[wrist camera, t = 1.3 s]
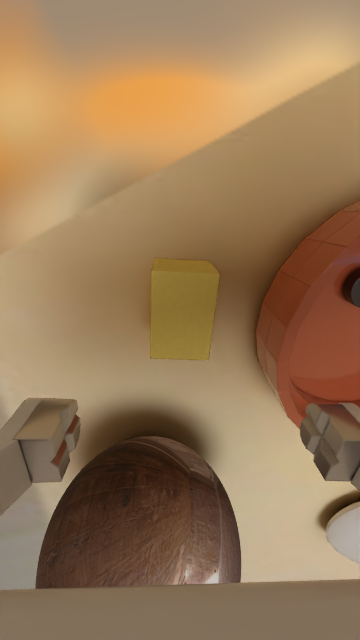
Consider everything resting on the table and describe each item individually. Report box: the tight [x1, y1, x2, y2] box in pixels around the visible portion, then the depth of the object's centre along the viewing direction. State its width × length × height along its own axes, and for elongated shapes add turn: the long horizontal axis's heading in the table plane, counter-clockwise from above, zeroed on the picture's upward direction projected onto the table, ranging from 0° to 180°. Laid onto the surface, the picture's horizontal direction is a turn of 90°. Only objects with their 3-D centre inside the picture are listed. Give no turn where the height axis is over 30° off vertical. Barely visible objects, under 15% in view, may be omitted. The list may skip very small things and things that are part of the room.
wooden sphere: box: [35, 436, 241, 589], centre depth 19 cm, size 15×15×15 cm
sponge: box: [150, 258, 220, 360], centre depth 17 cm, size 6×4×4 cm, turn 177°
